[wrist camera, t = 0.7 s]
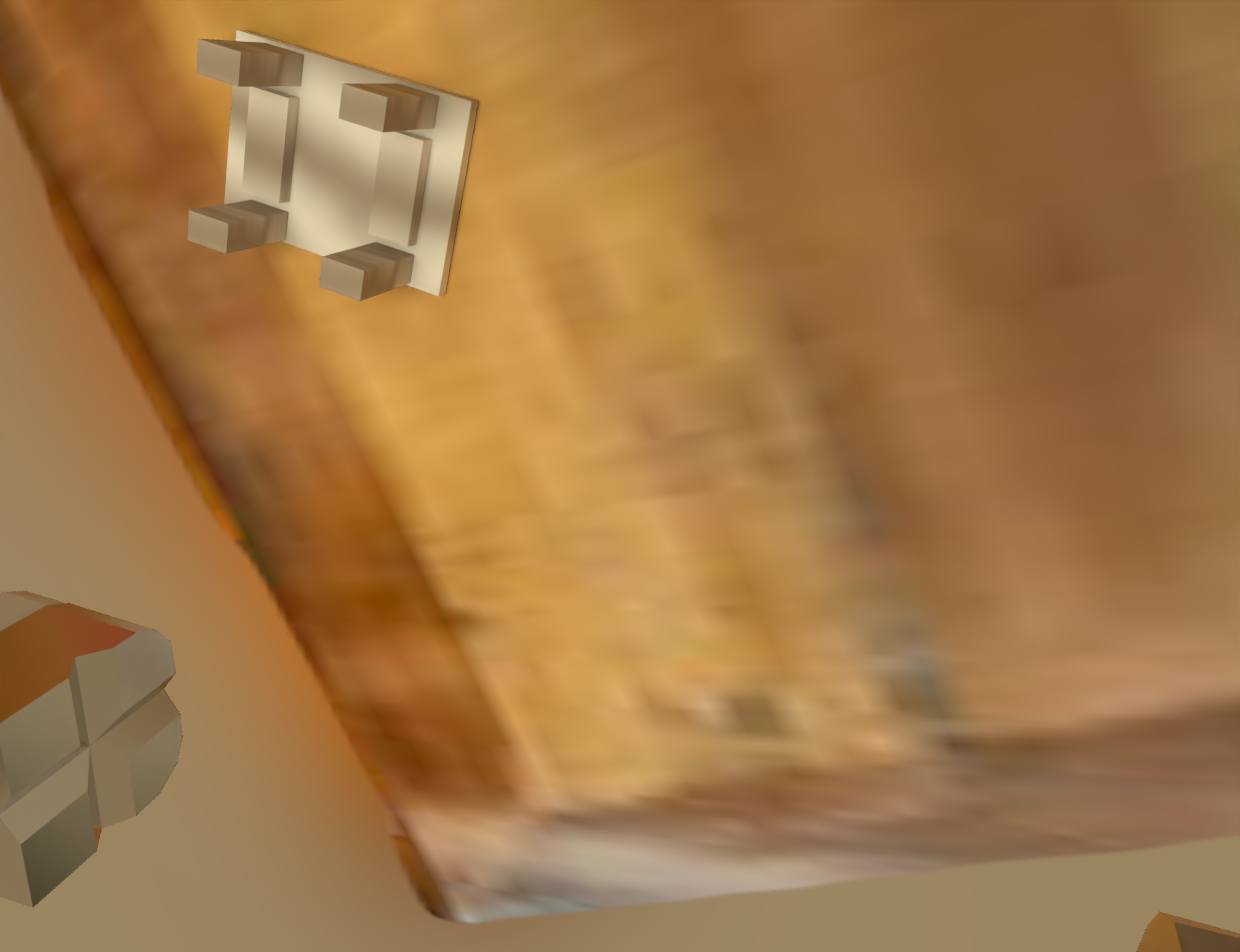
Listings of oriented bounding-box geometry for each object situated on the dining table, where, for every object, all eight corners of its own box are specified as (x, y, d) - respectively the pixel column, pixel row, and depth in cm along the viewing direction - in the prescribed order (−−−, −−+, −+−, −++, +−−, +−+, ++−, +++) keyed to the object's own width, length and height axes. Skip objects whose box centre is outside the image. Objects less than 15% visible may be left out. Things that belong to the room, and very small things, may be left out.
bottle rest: (246, 30, 54) (167, 24, 48) (478, 101, 51) (422, 103, 46) (232, 219, 58) (158, 233, 53) (445, 293, 56) (390, 315, 50)
